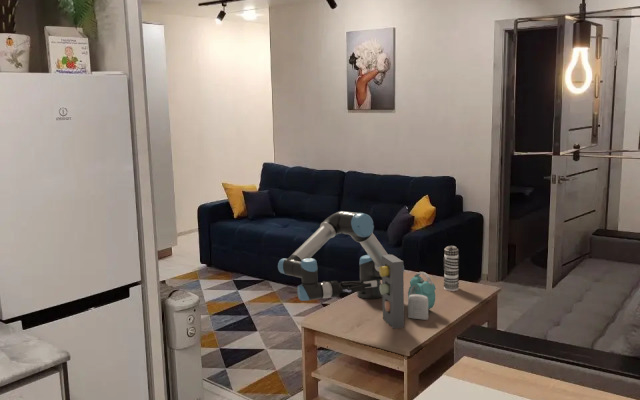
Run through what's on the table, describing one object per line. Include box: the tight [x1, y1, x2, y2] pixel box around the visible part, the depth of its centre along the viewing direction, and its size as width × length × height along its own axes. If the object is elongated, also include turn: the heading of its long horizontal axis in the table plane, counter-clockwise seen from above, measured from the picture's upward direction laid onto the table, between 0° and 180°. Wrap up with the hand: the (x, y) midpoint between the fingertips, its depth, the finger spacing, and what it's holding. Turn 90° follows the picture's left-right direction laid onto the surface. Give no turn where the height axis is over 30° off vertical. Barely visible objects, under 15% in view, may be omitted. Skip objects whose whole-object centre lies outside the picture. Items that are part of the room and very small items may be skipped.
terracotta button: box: [385, 301, 390, 311], centre depth 297 cm, size 4×5×5 cm
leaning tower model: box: [442, 245, 460, 292], centre depth 347 cm, size 9×9×25 cm
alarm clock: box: [407, 271, 436, 310], centre depth 314 cm, size 17×10×20 cm, turn 23°
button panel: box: [381, 254, 405, 329], centre depth 296 cm, size 6×14×33 cm, turn 16°
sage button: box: [379, 283, 390, 294], centre depth 294 cm, size 4×5×5 cm
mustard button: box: [379, 266, 390, 277], centre depth 293 cm, size 4×5×5 cm
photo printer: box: [407, 294, 429, 321], centre depth 303 cm, size 10×4×12 cm, turn 69°
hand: (376, 283), depth 292 cm, fingers closed
